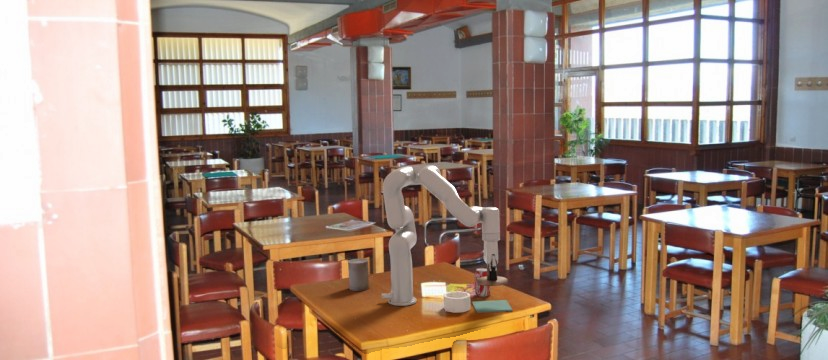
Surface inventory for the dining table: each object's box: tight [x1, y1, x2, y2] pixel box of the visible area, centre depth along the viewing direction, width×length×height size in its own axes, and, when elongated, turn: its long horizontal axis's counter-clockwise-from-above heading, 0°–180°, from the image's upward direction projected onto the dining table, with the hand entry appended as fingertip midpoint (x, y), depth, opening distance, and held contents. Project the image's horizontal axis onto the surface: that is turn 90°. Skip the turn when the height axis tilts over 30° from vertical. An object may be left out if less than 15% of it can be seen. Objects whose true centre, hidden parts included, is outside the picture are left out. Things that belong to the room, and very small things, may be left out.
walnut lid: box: [477, 267, 508, 287], centre depth 295 cm, size 13×13×6 cm
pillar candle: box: [347, 258, 370, 292], centre depth 331 cm, size 10×10×15 cm
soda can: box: [474, 267, 491, 298], centre depth 314 cm, size 7×7×12 cm
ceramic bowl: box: [443, 290, 472, 314], centre depth 295 cm, size 11×11×6 cm
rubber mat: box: [471, 299, 513, 314], centre depth 296 cm, size 15×14×1 cm
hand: (492, 278), depth 295 cm, fingers closed on walnut lid, 4 cm apart
